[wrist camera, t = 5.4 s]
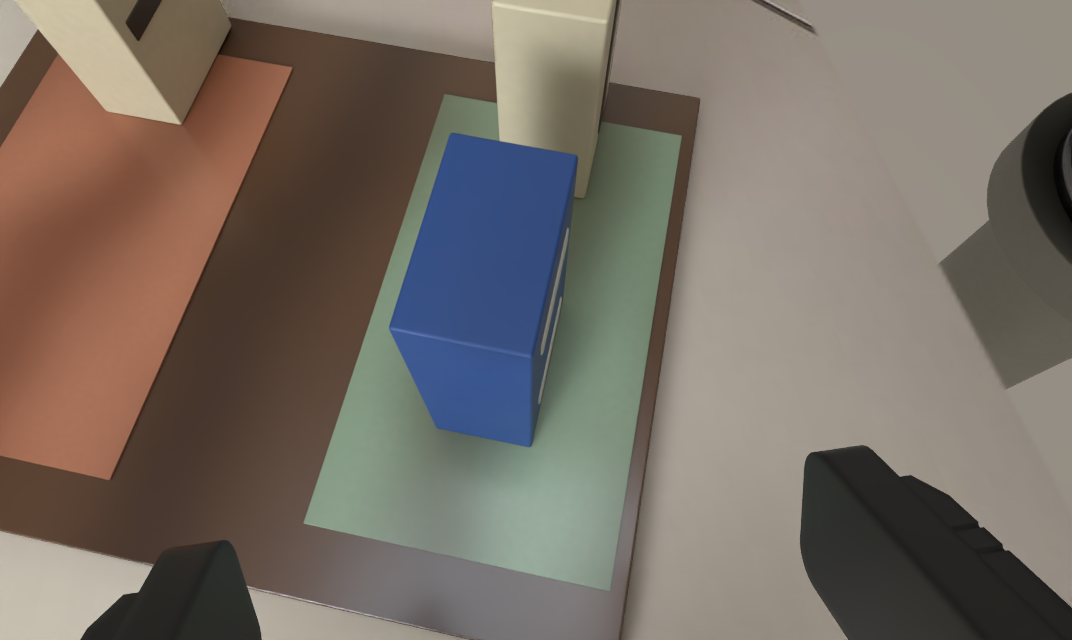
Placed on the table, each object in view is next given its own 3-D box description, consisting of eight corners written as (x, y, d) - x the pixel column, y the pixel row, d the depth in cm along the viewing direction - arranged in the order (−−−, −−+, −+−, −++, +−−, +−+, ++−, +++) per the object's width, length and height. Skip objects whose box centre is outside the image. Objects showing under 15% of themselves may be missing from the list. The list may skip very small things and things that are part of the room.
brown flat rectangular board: (697, 108, 27) (701, 95, 27) (613, 672, 20) (616, 673, 19) (72, 0, 29) (61, -14, 28) (-231, 476, 21) (-254, 472, 21)
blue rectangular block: (564, 301, 23) (581, 153, 16) (533, 449, 21) (536, 358, 14) (472, 283, 23) (447, 130, 16) (433, 427, 21) (384, 328, 14)
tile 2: (609, 90, 27) (640, -112, 19) (586, 200, 25) (610, 22, 17) (529, 76, 27) (530, -129, 20) (499, 184, 25) (488, 2, 18)
